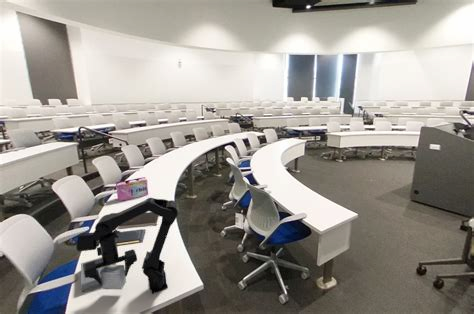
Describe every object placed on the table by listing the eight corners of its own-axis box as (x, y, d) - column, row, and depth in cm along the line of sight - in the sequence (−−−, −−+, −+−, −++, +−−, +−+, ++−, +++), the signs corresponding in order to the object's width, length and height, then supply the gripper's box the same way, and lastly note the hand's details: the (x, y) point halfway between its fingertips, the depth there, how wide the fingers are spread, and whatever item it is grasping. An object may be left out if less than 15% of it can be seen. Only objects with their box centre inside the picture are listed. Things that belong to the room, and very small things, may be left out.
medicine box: (126, 282, 104) (124, 264, 102) (121, 290, 100) (118, 271, 98) (108, 281, 104) (105, 264, 102) (102, 289, 100) (99, 271, 98)
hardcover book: (157, 225, 158) (156, 222, 157) (118, 229, 154) (118, 225, 153) (159, 213, 173) (159, 210, 173) (125, 217, 169) (124, 214, 168)
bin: (114, 259, 124) (113, 253, 123) (118, 278, 111) (117, 272, 110) (82, 269, 117) (81, 263, 116) (82, 291, 103) (81, 284, 103)
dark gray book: (146, 227, 152) (142, 241, 137) (146, 230, 152) (142, 244, 138) (111, 231, 148) (103, 245, 133) (111, 234, 148) (103, 249, 134)
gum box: (147, 191, 213) (145, 176, 210) (150, 194, 207) (148, 179, 203) (117, 198, 199) (115, 182, 196) (119, 201, 193) (117, 185, 190)
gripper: (130, 231, 109) (134, 261, 113) (81, 244, 100) (87, 277, 103) (135, 243, 100) (139, 276, 104) (81, 259, 90) (88, 294, 94)
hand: (114, 280), depth 102 cm, fingers closed on medicine box, 9 cm apart
